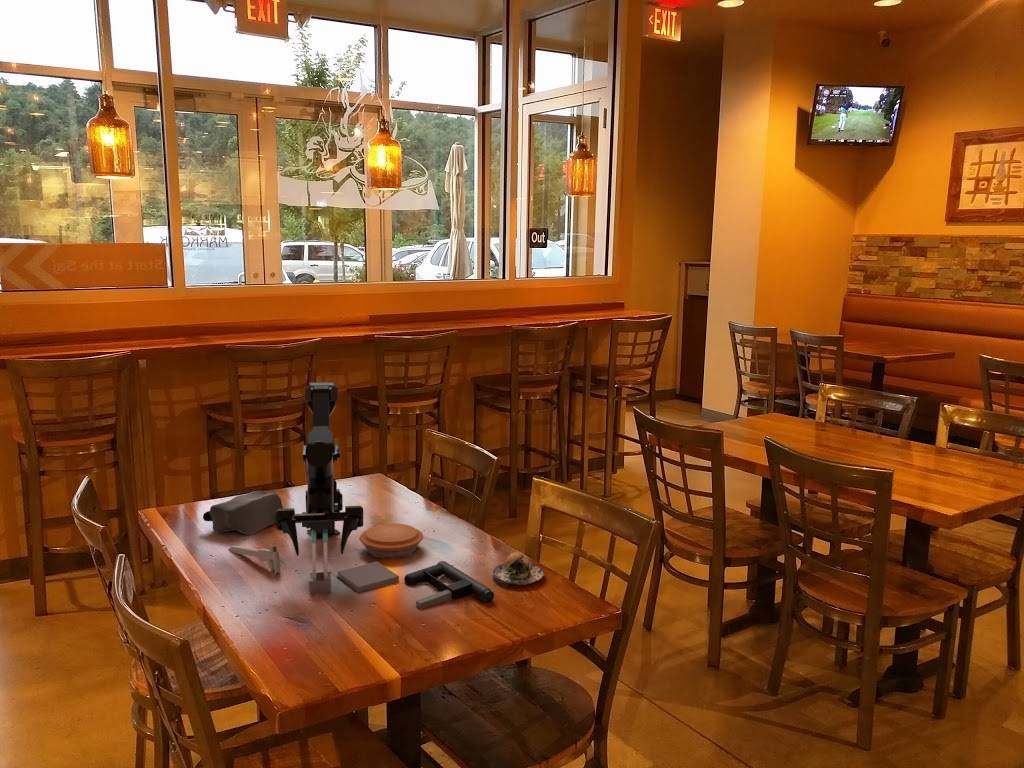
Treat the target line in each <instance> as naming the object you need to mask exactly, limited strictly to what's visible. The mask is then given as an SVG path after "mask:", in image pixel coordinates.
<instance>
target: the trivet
mask: <svg viewBox="0 0 1024 768" xmlns="http://www.w3.org/2000/svg"><path fill="white" fill-rule="evenodd" d="M336 573H337V577H338V579H340V580H342V581H343V582H344V583H346V584H347V585H348V586H349V587H351V588H352V589H353V590H354V591H355V592H358V593H361V592H364V591H368V590H371V589H376V588H378V587H383V586H387V585H390V584H393V583H397V582H400V576H399V575H398V574H396V573H395V572H393V571H392V570H391V569H389V568H388V567H386V566H385V565H383V564H382V563H380V562H379V561H373V562H369V563H365V564H362V565H358V566H354V567H350V568H345V569H342V570H338V571H337V572H336Z"/></svg>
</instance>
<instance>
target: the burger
mask: <svg viewBox="0 0 1024 768" xmlns="http://www.w3.org/2000/svg"><path fill="white" fill-rule="evenodd" d="M510 547H511V551H512V552H511V553H509V554H510V555H508V556H507V558H506V561H505V563H501V564H499V565H497V566H496V567H495V568H493V571H492V574H493V575H492V577H491V579H492V581H493V582H494V583H495V584H498V585H499V586H501V587H502V588H506V589H507V588H508V586H509V585H514V586H515V585H517V586H523V585H524V586H526V585H530V584H534V583H536V582H538V581H539V580H541V579H542V578H543V576H545V572H546V571H545V570H544V569H543V568H541V567H540V566H538V565H536V564H533V563H528V562H525V561H524V560H523V559H524V558H525V555H524V554H523V553H521V552H520V551H519V552H517V551H515V552H514V551H513V546H512V545H510Z"/></svg>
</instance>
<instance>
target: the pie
mask: <svg viewBox="0 0 1024 768" xmlns="http://www.w3.org/2000/svg"><path fill="white" fill-rule="evenodd" d="M359 540H360V542H361V544H362V545H363V546H364V547H365V549H366V550H367V551H368V553H369V554H370V555H372V556H374V557H375V558H376V557H377V558H380V559H389V558H390V559H399V558H404V557H407V556H409V555H411V554H413V552H415V550H416V549H417V547H418V546H419V544H420V543H421V542H422V541H423V540H424V534H423V532H422V531H421V530H419V529H417V528H415V527H413V526H412V525H408V524H405V523H383V524H382V523H381V524H379V525H373V526H372V527H369V528H368V529H366V530H363V532H361V533H360V536H359Z"/></svg>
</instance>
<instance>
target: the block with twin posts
mask: <svg viewBox="0 0 1024 768" xmlns="http://www.w3.org/2000/svg"><path fill="white" fill-rule="evenodd" d="M310 540H311V558H312V561H311V562H312V563H311V565H312V572H309V579H308V580H309V582H308V583H309V586H308V587H309V588H308V589H309V595H325V594H331V593H332V571H329V570H328V566H329V565H328V564H329V563H328V540H329V537H328V529H323V538H322V543H323V572H317V543H316V542H317V539H316V530H312V532H311V535H310Z"/></svg>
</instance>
